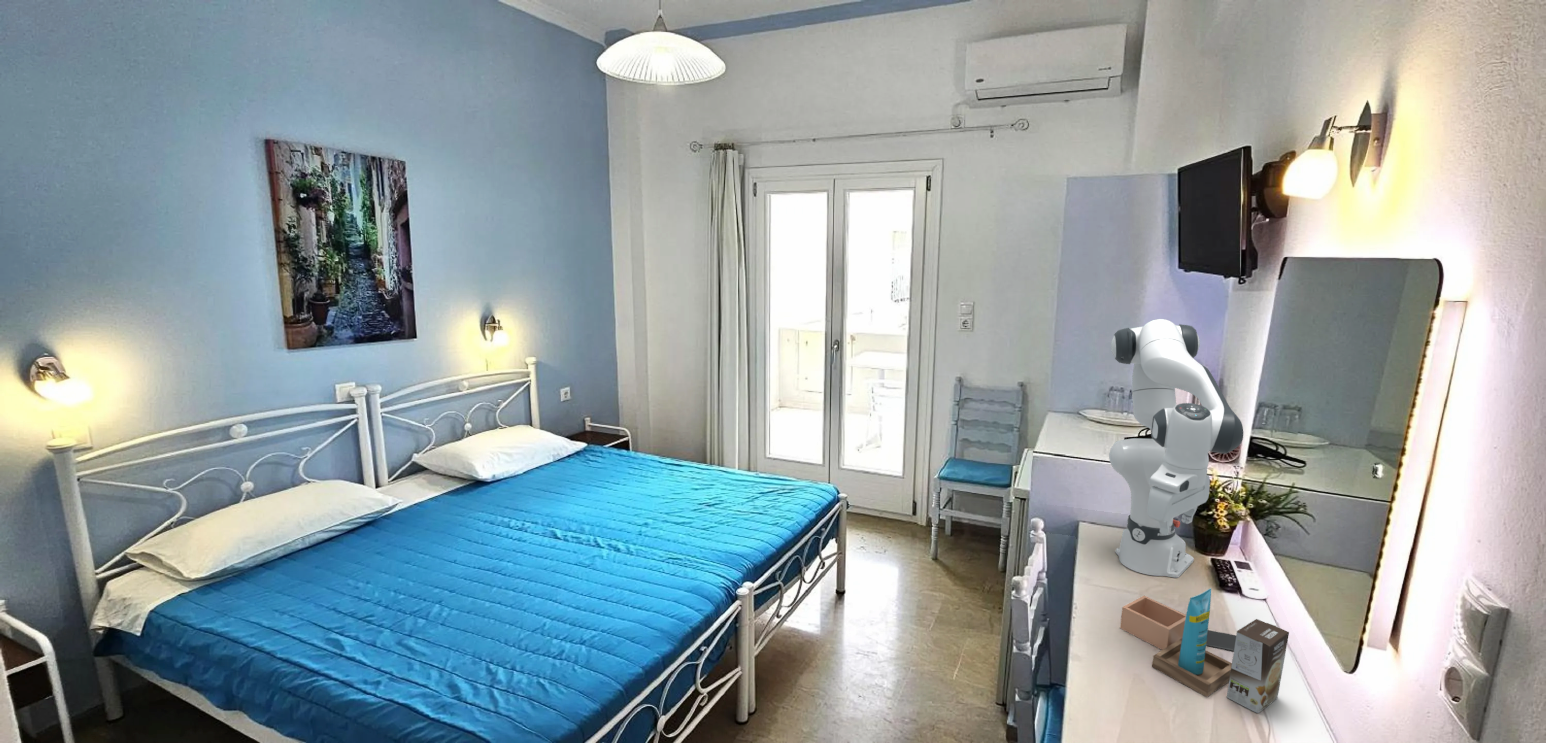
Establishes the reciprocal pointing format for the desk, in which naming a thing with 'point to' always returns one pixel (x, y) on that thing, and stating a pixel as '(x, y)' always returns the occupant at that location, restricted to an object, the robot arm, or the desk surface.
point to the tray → (1205, 683)
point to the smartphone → (1221, 640)
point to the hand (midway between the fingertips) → (1175, 527)
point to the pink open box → (1153, 622)
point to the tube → (1195, 633)
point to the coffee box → (1257, 665)
